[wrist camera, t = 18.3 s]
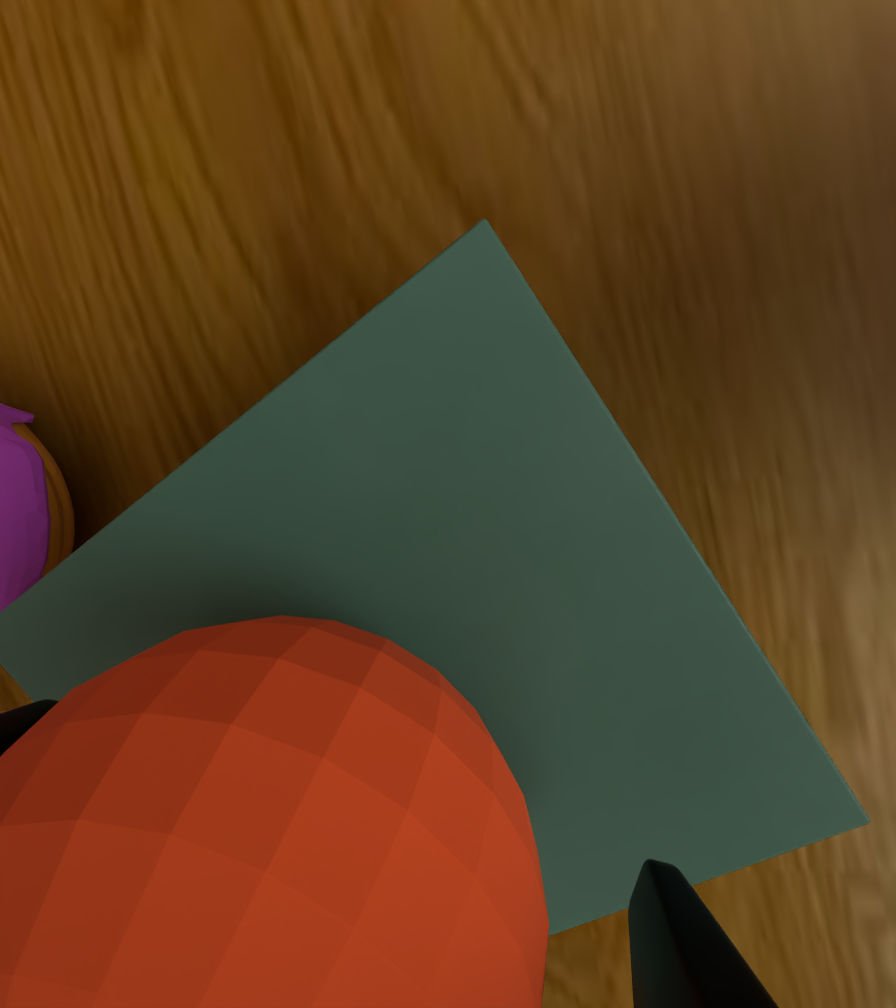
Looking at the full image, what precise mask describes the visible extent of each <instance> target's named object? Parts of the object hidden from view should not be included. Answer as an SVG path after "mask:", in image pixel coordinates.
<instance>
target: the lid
mask: <svg viewBox="0 0 896 1008" xmlns="http://www.w3.org/2000/svg"><path fill="white" fill-rule="evenodd" d="M280 615H283V616H294V617H304V618H315V619H325V620H335V621H338V622H341V623H344V624H346V625H349V626H352V627H355V628H358V629H361V630H364V631H367V632H370V633H373V634H375V635H378V636H381V637H384V638H387V639H389V640H391V641H392V642H394V643H395V644H397V645H399V646H400V647H402V648H403V649H405V650H407V651H408V652H410V653H411V654H413V655H415V656H416V657H418V658H419V659H421V660H423V661H424V662H426V663H427V664H429V665H430V666H432V667H434V668H435V669H437V670H438V671H439V672H440V673H441V674H442V675H443V676H444V677H445V678H446V679H447V681H448V682H449V683H450V684H451V685H452V686H453V687H454V688H455V689H456V690H457V691H458V692H459V693H460V694H461V695H462V696H463V697H464V698H465V699H466V700H467V701H468V702H469V703H470V704H471V705H472V706H473V707H474V708H475V709H476V711H477V713H478V714H479V716H480V718H481V719H482V721H483V723H484V725H485V726H486V728H487V730H488V731H489V733H490V735H491V737H492V738H493V740H494V742H495V743H496V745H497V747H498V749H499V750H500V752H501V754H502V756H503V757H504V759H505V761H506V763H507V765H508V767H509V769H510V771H511V772H512V774H513V776H514V778H515V780H516V782H517V784H518V786H519V787H520V789H521V791H522V793H523V795H524V798H525V802H526V806H527V810H528V814H529V818H530V822H531V826H532V830H533V834H534V838H535V842H536V846H537V850H538V856H539V862H540V868H541V875H542V881H543V887H544V894H545V900H546V906H547V913H548V919H549V933H548V936H550V935H553V934H555V933H558V932H561V931H564V930H567V929H570V928H572V927H575V926H578V925H581V924H584V923H587V922H590V921H592V920H595V919H598V918H601V917H604V916H607V915H609V914H612V913H615V912H618V911H621V910H624V909H627V908H629V902H630V898H631V895H632V893H633V890H634V887H635V884H636V881H637V879H638V876H639V873H640V870H641V868H642V865H643V863H644V862H645V861H646V860H647V859H654V860H658V861H661V862H665V863H669V864H672V865H674V866H676V867H677V868H678V869H679V870H680V871H681V872H682V874H683V875H684V876H685V878H686V879H687V881H688V882H689V883H690V885H691V886H692V885H695V884H698V883H701V882H703V881H706V880H709V879H712V878H715V877H718V876H720V875H723V874H726V873H729V872H732V871H735V870H738V869H740V868H743V867H746V866H749V865H752V864H755V863H757V862H760V861H763V860H766V859H769V858H772V857H775V856H777V855H780V854H783V853H786V852H789V851H792V850H794V849H797V848H800V847H803V846H806V845H809V844H812V843H814V842H817V841H820V840H823V839H826V838H829V837H831V836H834V835H837V834H840V833H843V832H846V831H849V830H851V829H854V828H857V827H860V826H863V825H866V824H868V823H869V822H870V820H869V817H868V815H867V814H866V812H865V811H864V809H863V808H862V806H861V805H860V803H859V801H858V800H857V798H856V797H855V795H854V794H853V792H852V790H851V789H850V787H849V786H848V784H847V783H846V781H845V779H844V778H843V776H842V775H841V773H840V772H839V770H838V769H837V767H836V765H835V764H834V762H833V761H832V759H831V758H830V756H829V754H828V753H827V751H826V750H825V748H824V747H823V745H822V743H821V742H820V740H819V739H818V737H817V736H816V734H815V733H814V731H813V729H812V728H811V726H810V725H809V723H808V722H807V720H806V718H805V717H804V715H803V714H802V712H801V711H800V709H799V707H798V706H797V704H796V703H795V701H794V700H793V698H792V697H791V695H790V693H789V692H788V690H787V689H786V687H785V686H784V684H783V682H782V681H781V679H780V678H779V676H778V675H777V673H776V671H775V670H774V668H773V667H772V665H771V664H770V662H769V661H768V659H767V657H766V656H765V654H764V653H763V651H762V650H761V648H760V646H759V645H758V643H757V642H756V640H755V639H754V637H753V635H752V634H751V632H750V631H749V629H748V628H747V626H746V625H745V623H744V621H743V620H742V618H741V617H740V615H739V614H738V612H737V610H736V609H735V607H734V606H733V604H732V603H731V601H730V599H729V598H728V596H727V595H726V593H725V592H724V590H723V589H722V587H721V585H720V584H719V582H718V581H717V579H716V578H715V576H714V574H713V573H712V571H711V570H710V568H709V567H708V565H707V563H706V562H705V560H704V559H703V557H702V556H701V554H700V553H699V551H698V549H697V548H696V546H695V545H694V543H693V542H692V540H691V538H690V537H689V535H688V534H687V532H686V531H685V529H684V527H683V526H682V524H681V523H680V521H679V520H678V518H677V517H676V515H675V513H674V512H673V510H672V509H671V507H670V506H669V504H668V502H667V501H666V499H665V498H664V496H663V495H662V493H661V491H660V490H659V488H658V487H657V485H656V484H655V482H654V481H653V479H652V477H651V476H650V474H649V473H648V471H647V470H646V468H645V466H644V465H643V463H642V462H641V460H640V459H639V457H638V455H637V454H636V452H635V451H634V449H633V448H632V446H631V445H630V443H629V441H628V440H627V438H626V437H625V435H624V434H623V432H622V430H621V429H620V427H619V426H618V424H617V423H616V421H615V419H614V418H613V416H612V415H611V413H610V412H609V410H608V409H607V407H606V405H605V404H604V402H603V401H602V399H601V398H600V396H599V394H598V393H597V391H596V390H595V388H594V387H593V385H592V383H591V382H590V380H589V379H588V377H587V376H586V374H585V373H584V371H583V369H582V368H581V366H580V365H579V363H578V362H577V360H576V358H575V357H574V355H573V354H572V352H571V351H570V349H569V347H568V346H567V344H566V343H565V341H564V340H563V338H562V337H561V335H560V333H559V332H558V330H557V329H556V327H555V326H554V324H553V322H552V321H551V319H550V318H549V316H548V315H547V313H546V311H545V310H544V308H543V307H542V305H541V304H540V302H539V301H538V299H537V297H536V296H535V294H534V293H533V291H532V290H531V288H530V286H529V285H528V283H527V282H526V280H525V279H524V277H523V275H522V274H521V272H520V271H519V269H518V268H517V266H516V265H515V263H514V261H513V260H512V258H511V257H510V255H509V254H508V252H507V250H506V249H505V247H504V246H503V244H502V243H501V241H500V239H499V238H498V236H497V235H496V233H495V232H494V230H493V229H492V227H491V225H490V224H489V222H488V221H487V220H486V219H482V220H480V221H479V222H478V223H477V224H475V225H474V226H473V227H472V228H470V229H469V230H468V231H467V232H466V233H464V234H463V235H462V236H461V237H459V238H458V239H457V240H456V241H455V242H453V243H452V244H451V245H450V246H448V247H447V248H446V249H445V250H443V251H442V252H441V253H440V254H439V255H437V256H436V257H435V258H434V259H432V260H431V261H430V262H429V263H428V264H426V265H425V266H424V267H423V268H421V269H420V270H419V271H418V272H417V273H415V274H414V275H413V276H412V277H410V278H409V279H408V280H407V281H405V282H404V283H403V284H402V285H401V286H399V287H398V288H397V289H396V290H394V291H393V292H392V293H391V294H390V295H388V296H387V297H386V298H385V299H383V300H382V301H381V302H380V303H379V304H377V305H376V306H375V307H374V308H372V309H371V310H370V311H369V312H367V313H366V314H365V315H364V316H363V317H361V318H360V319H359V320H358V321H356V322H355V323H354V324H353V325H352V326H350V327H349V328H348V329H347V330H345V331H344V332H343V333H342V334H341V335H339V336H338V337H337V338H336V339H334V340H333V341H332V342H331V343H329V344H328V345H327V346H326V347H325V348H323V349H322V350H321V351H320V352H318V353H317V354H316V355H315V356H314V357H312V358H311V359H310V360H309V361H307V362H306V363H305V364H304V365H303V366H301V367H300V368H299V369H298V370H296V371H295V372H294V373H293V374H291V375H290V376H289V377H288V378H287V379H285V380H284V381H283V382H282V383H280V384H279V385H278V386H277V387H276V388H274V389H273V390H272V391H271V392H269V393H268V394H267V395H266V396H265V397H263V398H262V399H261V400H260V401H258V402H257V403H256V404H255V405H253V406H252V407H251V408H250V409H249V410H247V411H246V412H245V413H244V414H242V415H241V416H240V417H239V418H238V419H236V420H235V421H234V422H233V423H231V424H230V425H229V426H228V427H227V428H225V429H224V430H223V431H222V432H220V433H219V434H218V435H217V436H215V437H214V438H213V439H212V440H211V441H209V442H208V443H207V444H206V445H204V446H203V447H202V448H201V449H200V450H198V451H197V452H196V453H195V454H193V455H192V456H191V457H190V458H189V459H187V460H186V461H185V462H184V463H182V464H181V465H180V466H179V467H177V468H176V469H175V470H174V471H173V472H171V473H170V474H169V475H168V476H166V477H165V478H164V479H163V480H162V481H160V482H159V483H158V484H157V485H155V486H154V487H153V488H152V489H151V490H149V491H148V492H147V493H146V494H144V495H143V496H142V497H141V498H139V499H138V500H137V501H136V502H135V503H133V504H132V505H131V506H130V507H128V508H127V509H126V510H125V511H124V512H122V513H121V514H120V515H119V516H117V517H116V518H115V519H114V520H113V521H111V522H110V523H109V524H108V525H106V526H105V527H104V528H103V529H101V530H100V531H99V532H98V533H97V534H95V535H94V536H93V537H92V538H90V539H89V540H88V541H87V542H86V543H84V544H83V545H82V546H81V547H79V548H78V549H77V550H76V551H75V552H73V553H72V554H71V555H70V556H68V557H67V558H66V559H65V560H63V561H62V562H61V563H60V564H59V565H57V566H56V567H55V568H54V569H52V570H51V571H50V572H49V573H48V574H46V575H45V576H44V577H43V578H41V579H40V580H39V581H38V582H37V583H35V584H34V585H33V586H32V587H30V588H29V589H28V590H27V591H25V592H24V593H23V594H22V595H21V596H19V597H18V598H17V599H16V600H14V601H13V602H12V603H11V604H10V605H8V606H7V607H6V608H5V609H3V610H2V611H1V612H0V664H1V665H2V666H3V668H4V669H5V670H6V671H7V672H8V673H9V674H10V676H11V677H12V678H13V679H14V680H15V681H16V682H17V684H18V685H19V686H20V687H21V688H22V689H23V690H24V692H25V693H26V694H27V695H28V696H29V697H30V698H31V700H32V701H33V702H37V701H40V700H44V699H52V700H56V701H60V700H61V699H62V698H63V697H64V696H66V695H67V694H68V693H69V692H70V691H71V690H72V689H73V688H75V687H77V686H79V685H81V684H83V683H85V682H87V681H88V680H90V679H92V678H94V677H96V676H98V675H100V674H102V673H103V672H105V671H107V670H109V669H111V668H113V667H115V666H117V665H118V664H120V663H122V662H124V661H126V660H128V659H130V658H132V657H133V656H135V655H137V654H139V653H141V652H143V651H145V650H147V649H149V648H151V647H153V646H155V645H157V644H159V643H161V642H163V641H165V640H167V639H169V638H171V637H173V636H175V635H177V634H179V633H181V632H183V631H187V630H192V629H198V628H204V627H210V626H216V625H222V624H228V623H234V622H240V621H246V620H253V619H260V618H267V617H273V616H280Z"/></svg>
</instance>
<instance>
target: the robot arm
mask: <svg viewBox="0 0 896 1008" xmlns="http://www.w3.org/2000/svg"><path fill="white" fill-rule="evenodd" d="M58 702H59V701H56V700H52V699H44V700H40V701H37V702H34V703H31V704H28V705H25V706H22V707H19V708H16V709H13V710H10V711H7V712H4V713H1V714H0V757H1V756H2V754H3V753H4V752H5V751H6V750H7V749H9V748H10V747H11V746H12V745H13V744H14V743H15V742H16V741H17V740H18V739H19V738H20V737H21V736H23V735H24V734H25V733H26V732H27V731H28V730H29V729H30V728H31V727H32V726H33V725H34V724H35V723H36V722H38V721H39V720H40V719H41V718H42V717H43V716H44V715H45V714H46V713H47V712H48V711H49V710H50V709H52V708H53V707H54V706H55V705H56V704H57V703H58ZM628 921H629V937H630V953H631V970H632V986H633V1002H634V1008H779V1007H778V1006H777V1004H776V1003H775V1002H774V1000H773V999H772V997H771V996H770V995H769V993H768V992H767V990H766V989H765V988H764V986H763V985H762V983H761V982H760V981H759V979H758V978H757V977H756V975H755V974H754V972H753V971H752V970H751V968H750V967H749V965H748V964H747V963H746V961H745V960H744V958H743V957H742V956H741V954H740V953H739V951H738V950H737V949H736V947H735V946H734V945H733V943H732V942H731V940H730V939H729V938H728V936H727V935H726V933H725V932H724V931H723V929H722V928H721V926H720V925H719V924H718V922H717V921H716V920H715V918H714V917H713V915H712V914H711V913H710V911H709V910H708V908H707V907H706V906H705V904H704V903H703V901H702V900H701V899H700V897H699V896H698V894H697V893H696V892H695V890H694V889H693V888H692V886H691V885H690V883H689V882H688V881H687V879H686V878H685V876H684V875H683V874H682V872H681V871H680V870H679V869H678V868H677V867H676V866H674V865H672V864H669V863H665V862H661V861H658V860H654V859H647V860H646V861H645V862H644V863H643V865H642V868H641V870H640V873H639V876H638V879H637V881H636V884H635V887H634V890H633V893H632V895H631V898H630V902H629V910H628Z"/></svg>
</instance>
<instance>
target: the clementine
mask: <svg viewBox="0 0 896 1008" xmlns="http://www.w3.org/2000/svg"><path fill="white" fill-rule="evenodd" d="M548 933H549V919H548V913H547V906H546V900H545V894H544V887H543V881H542V875H541V868H540V862H539V856H538V850H537V846H536V842H535V838H534V834H533V830H532V826H531V822H530V818H529V814H528V810H527V806H526V802H525V798H524V795H523V793H522V791H521V789H520V787H519V786H518V784H517V782H516V780H515V778H514V776H513V774H512V772H511V771H510V769H509V767H508V765H507V763H506V761H505V759H504V757H503V756H502V754H501V752H500V750H499V749H498V747H497V745H496V743H495V742H494V740H493V738H492V737H491V735H490V733H489V731H488V730H487V728H486V726H485V725H484V723H483V721H482V719H481V718H480V716H479V714H478V713H477V711H476V709H475V708H474V707H473V706H472V705H471V704H470V703H469V702H468V701H467V700H466V699H465V698H464V697H463V696H462V695H461V694H460V693H459V692H458V691H457V690H456V689H455V688H454V687H453V686H452V685H451V684H450V683H449V682H448V681H447V679H446V678H445V677H444V676H443V675H442V674H441V673H440V672H439V671H438V670H437V669H435V668H434V667H432V666H430V665H429V664H427V663H426V662H424V661H423V660H421V659H419V658H418V657H416V656H415V655H413V654H411V653H410V652H408V651H407V650H405V649H403V648H402V647H400V646H399V645H397V644H395V643H394V642H392V641H391V640H389V639H387V638H384V637H381V636H378V635H375V634H373V633H370V632H367V631H364V630H361V629H358V628H355V627H352V626H349V625H346V624H344V623H341V622H338V621H335V620H325V619H315V618H304V617H294V616H283V615H280V616H273V617H267V618H260V619H253V620H246V621H240V622H234V623H228V624H222V625H216V626H210V627H204V628H198V629H192V630H187V631H183V632H181V633H179V634H177V635H175V636H173V637H171V638H169V639H167V640H165V641H163V642H161V643H159V644H157V645H155V646H153V647H151V648H149V649H147V650H145V651H143V652H141V653H139V654H137V655H135V656H133V657H132V658H130V659H128V660H126V661H124V662H122V663H120V664H118V665H117V666H115V667H113V668H111V669H109V670H107V671H105V672H103V673H102V674H100V675H98V676H96V677H94V678H92V679H90V680H88V681H87V682H85V683H83V684H81V685H79V686H77V687H75V688H73V689H72V690H71V691H70V692H69V693H68V694H67V695H66V696H64V697H63V698H62V699H61V700H60V701H59V702H58V703H57V704H56V705H55V706H54V707H53V708H52V709H50V710H49V711H48V712H47V713H46V714H45V715H44V716H43V717H42V718H41V719H40V720H39V721H38V722H36V723H35V724H34V725H33V726H32V727H31V728H30V729H29V730H28V731H27V732H26V733H25V734H24V735H23V736H21V737H20V738H19V739H18V740H17V741H16V742H15V743H14V744H13V745H12V746H11V747H10V748H9V749H7V750H6V751H5V752H4V753H3V754H2V756H1V757H0V1008H541V1006H542V996H543V987H544V976H545V965H546V954H547V943H548Z"/></svg>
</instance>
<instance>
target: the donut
mask: <svg viewBox="0 0 896 1008" xmlns="http://www.w3.org/2000/svg"><path fill="white" fill-rule="evenodd" d="M33 419H34V414H31V413H28V412H25V411H22V410H18V409H15V408H12V407H9V406H6V405H3V404H2V403H1V402H0V612H1V611H2V610H3V609H5V608H6V607H7V606H8V605H10V604H11V603H12V602H13V601H14V600H16V599H17V598H18V597H19V596H21V595H22V594H23V593H24V592H25V591H27V590H28V589H29V588H30V587H32V586H33V585H34V584H35V583H37V582H38V581H39V580H40V579H41V578H43V577H44V576H45V575H46V574H48V573H49V572H50V571H51V570H52V569H54V568H55V567H56V566H57V565H59V564H60V563H61V562H62V561H63V560H65V559H66V558H67V557H68V556H70V555H71V553H72V549H73V545H74V531H75V525H74V510H73V505H72V501H71V497H70V494H69V491H68V488H67V485H66V483H65V480H64V477H63V474H62V473H61V471H60V469H59V467H58V466H57V464H56V462H55V460H54V459H53V457H52V455H51V454H50V453H49V452H48V450H47V449H46V448H45V446H44V445H43V444H42V443H41V441H40V440H39V439H38V438H37V437H36V436H35V435H34V434H33V433H32V431H31V430H30V429H29V428H28V427H27V426H26V425H25V424H24V423H32V422H33Z"/></svg>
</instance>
